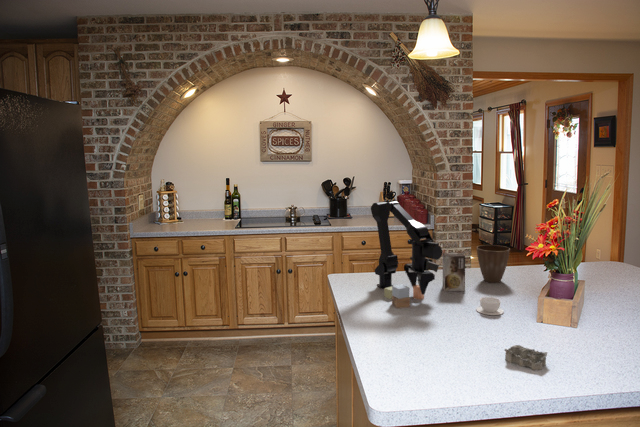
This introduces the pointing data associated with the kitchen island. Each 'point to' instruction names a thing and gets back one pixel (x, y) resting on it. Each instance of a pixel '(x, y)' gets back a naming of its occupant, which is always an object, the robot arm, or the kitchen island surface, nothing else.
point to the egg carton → (532, 357)
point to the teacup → (490, 306)
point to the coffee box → (453, 272)
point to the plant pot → (492, 261)
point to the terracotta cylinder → (417, 292)
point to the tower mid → (400, 291)
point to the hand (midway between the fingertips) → (418, 291)
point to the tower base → (401, 302)
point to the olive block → (388, 292)
